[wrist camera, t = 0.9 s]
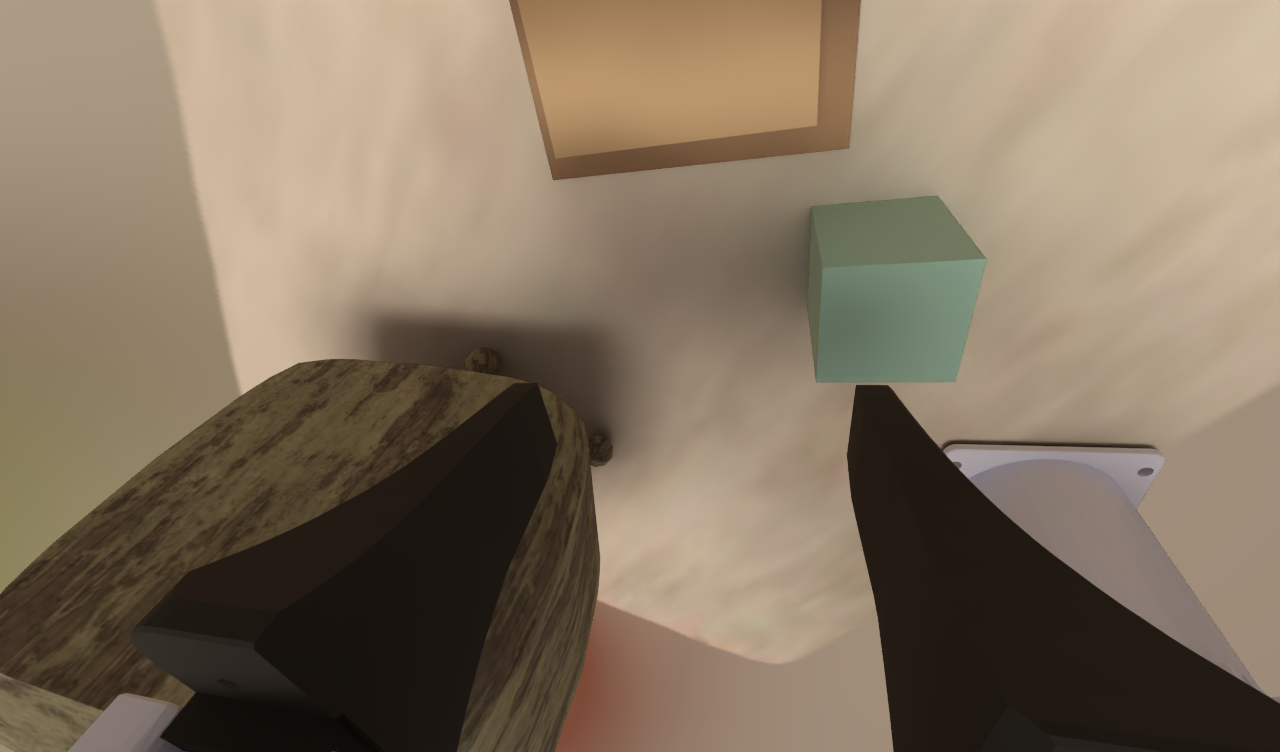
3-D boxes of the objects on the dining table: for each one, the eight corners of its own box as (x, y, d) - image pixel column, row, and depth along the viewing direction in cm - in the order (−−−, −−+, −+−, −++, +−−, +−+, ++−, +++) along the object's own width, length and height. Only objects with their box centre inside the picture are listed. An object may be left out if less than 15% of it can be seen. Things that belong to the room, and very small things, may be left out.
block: (918, 301, 19) (955, 382, 16) (807, 306, 20) (816, 382, 17) (937, 195, 17) (986, 258, 13) (811, 206, 18) (822, 267, 14)
